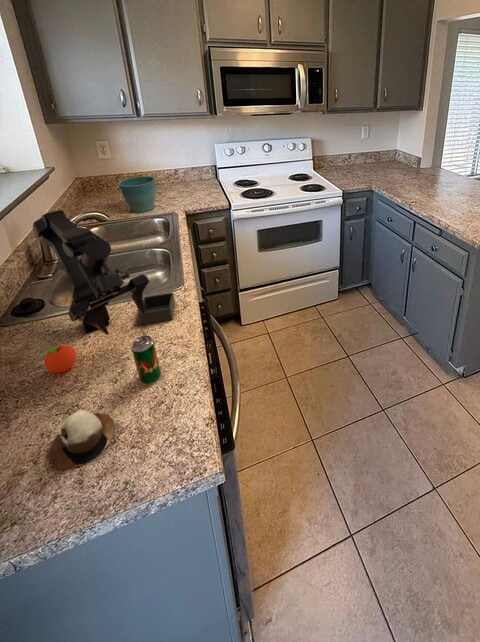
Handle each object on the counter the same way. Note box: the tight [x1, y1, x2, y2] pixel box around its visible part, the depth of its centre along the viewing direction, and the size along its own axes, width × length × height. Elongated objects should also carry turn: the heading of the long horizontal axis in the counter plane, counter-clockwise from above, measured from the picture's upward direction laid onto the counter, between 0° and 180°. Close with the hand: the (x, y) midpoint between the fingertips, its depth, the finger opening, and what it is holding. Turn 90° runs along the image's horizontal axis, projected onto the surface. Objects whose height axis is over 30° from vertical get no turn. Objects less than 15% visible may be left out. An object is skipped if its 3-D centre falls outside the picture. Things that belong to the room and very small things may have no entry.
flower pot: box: [118, 175, 157, 213], centre depth 201 cm, size 18×18×17 cm
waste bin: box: [138, 292, 176, 326], centre depth 117 cm, size 9×9×4 cm
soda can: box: [130, 335, 162, 385], centre depth 91 cm, size 5×5×12 cm
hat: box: [48, 409, 116, 470], centre depth 77 cm, size 12×10×10 cm
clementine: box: [39, 344, 78, 374], centre depth 95 cm, size 8×7×7 cm
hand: (126, 324), depth 93 cm, fingers open, 9 cm apart
